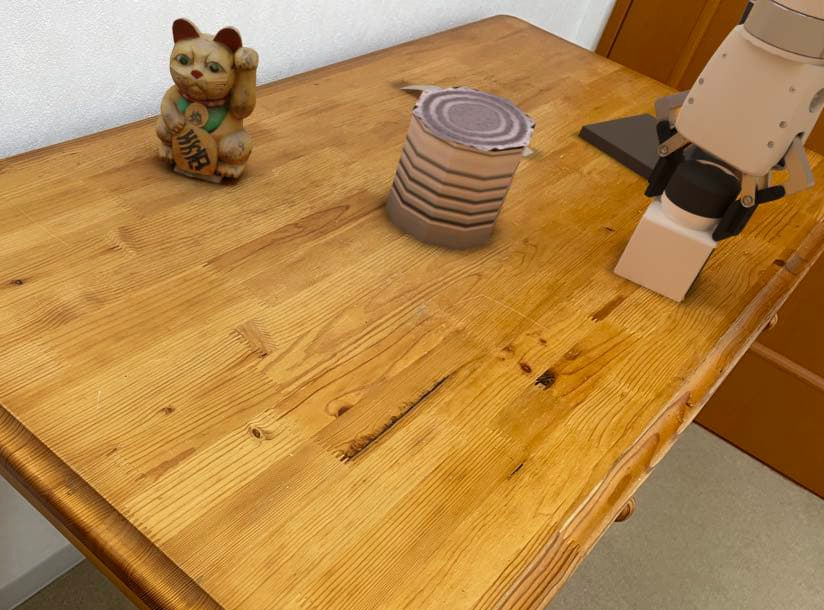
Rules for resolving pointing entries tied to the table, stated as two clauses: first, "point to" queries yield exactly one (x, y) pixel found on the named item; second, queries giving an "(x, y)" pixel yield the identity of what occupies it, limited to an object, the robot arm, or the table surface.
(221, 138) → the decorative figurine
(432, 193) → the can
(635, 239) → the medicine bottle
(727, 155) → the robot arm
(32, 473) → the table surface
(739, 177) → the scale
